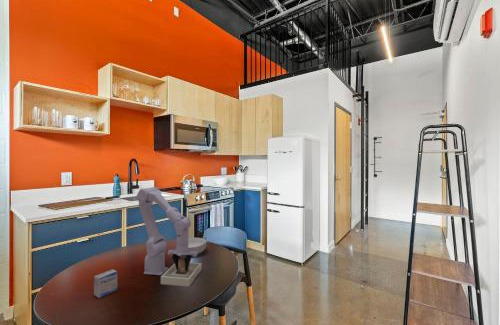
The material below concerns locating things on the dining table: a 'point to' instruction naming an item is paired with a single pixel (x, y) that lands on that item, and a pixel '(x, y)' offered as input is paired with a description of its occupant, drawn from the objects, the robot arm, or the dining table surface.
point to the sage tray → (181, 275)
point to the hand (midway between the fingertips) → (182, 269)
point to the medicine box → (105, 283)
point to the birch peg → (181, 266)
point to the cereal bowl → (196, 244)
